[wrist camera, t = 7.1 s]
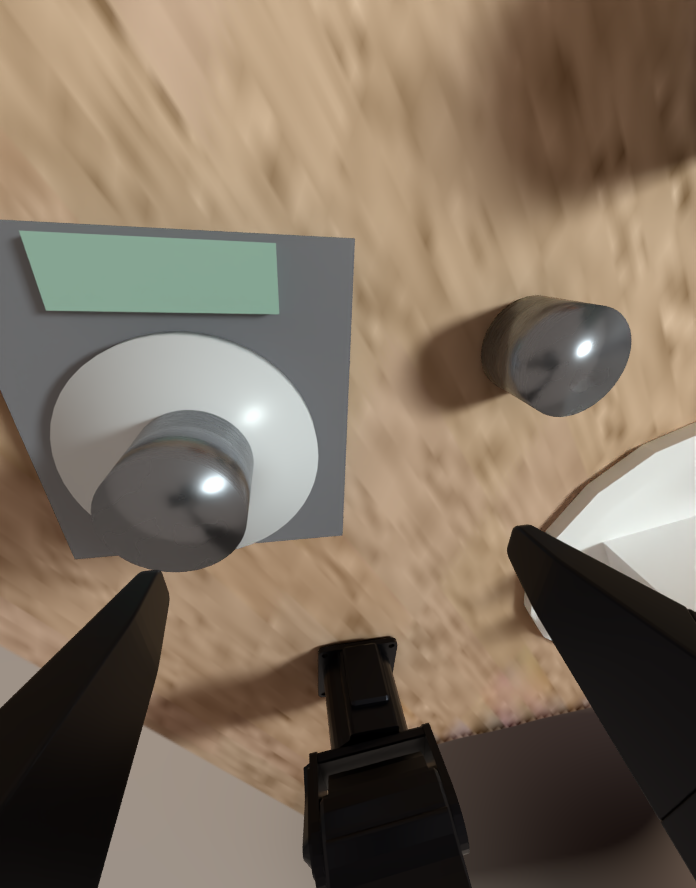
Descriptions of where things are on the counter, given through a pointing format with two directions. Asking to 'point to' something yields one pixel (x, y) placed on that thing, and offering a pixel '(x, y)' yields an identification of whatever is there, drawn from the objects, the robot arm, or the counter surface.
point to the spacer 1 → (177, 493)
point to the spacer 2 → (556, 353)
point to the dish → (640, 518)
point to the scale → (179, 359)
